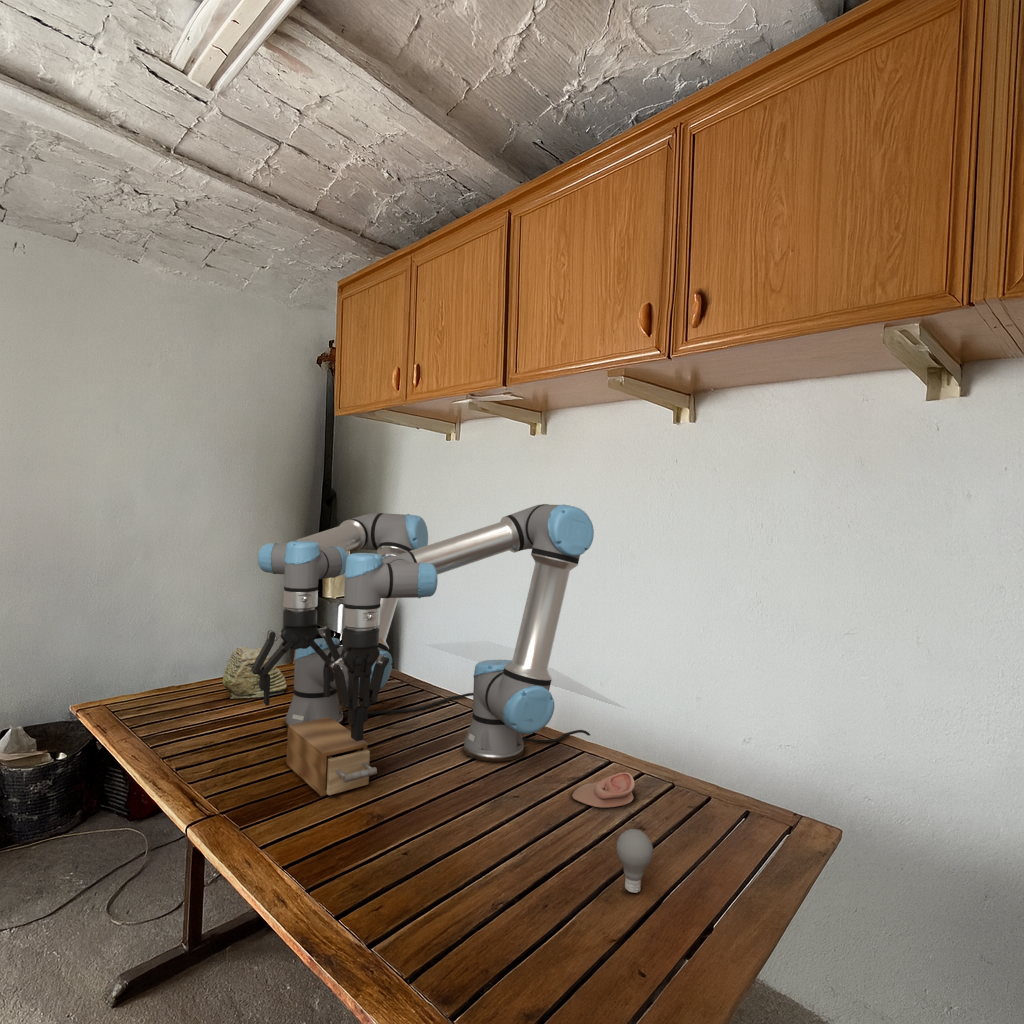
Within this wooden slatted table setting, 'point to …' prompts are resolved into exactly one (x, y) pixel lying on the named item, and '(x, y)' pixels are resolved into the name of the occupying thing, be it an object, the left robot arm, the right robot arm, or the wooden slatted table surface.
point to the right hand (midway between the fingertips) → (356, 738)
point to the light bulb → (634, 857)
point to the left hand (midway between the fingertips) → (297, 699)
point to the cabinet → (317, 749)
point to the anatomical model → (607, 791)
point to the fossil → (249, 675)
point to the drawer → (348, 771)
